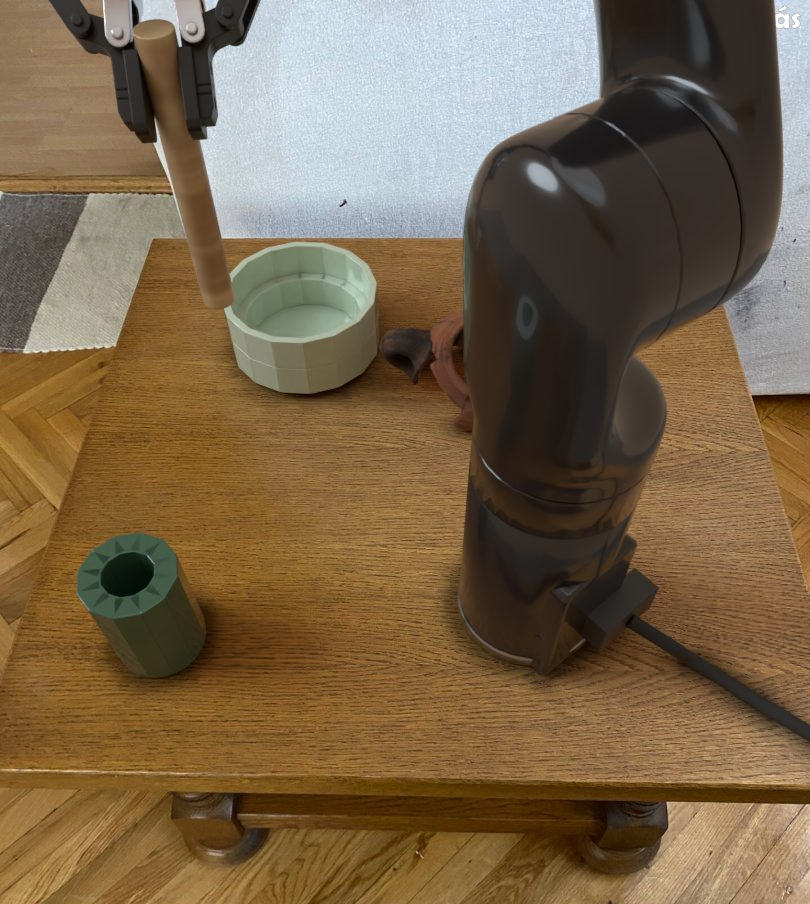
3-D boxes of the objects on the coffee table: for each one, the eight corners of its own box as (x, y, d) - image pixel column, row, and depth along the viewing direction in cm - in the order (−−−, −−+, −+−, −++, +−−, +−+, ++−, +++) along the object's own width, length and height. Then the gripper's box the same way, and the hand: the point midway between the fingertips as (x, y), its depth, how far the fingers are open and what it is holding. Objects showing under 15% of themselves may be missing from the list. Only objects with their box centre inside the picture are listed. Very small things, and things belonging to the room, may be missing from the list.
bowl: (408, 351, 70) (407, 293, 65) (292, 421, 65) (281, 365, 60) (320, 281, 75) (314, 223, 70) (207, 342, 70) (192, 285, 65)
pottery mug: (510, 343, 71) (548, 305, 63) (502, 450, 69) (541, 425, 61) (373, 319, 68) (395, 277, 60) (363, 430, 67) (384, 401, 59)
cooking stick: (241, 300, 52) (182, 29, 39) (214, 314, 51) (145, 43, 38) (223, 285, 53) (160, 14, 40) (197, 298, 52) (124, 27, 39)
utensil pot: (223, 641, 54) (196, 577, 48) (146, 695, 52) (107, 636, 45) (176, 585, 57) (145, 516, 50) (101, 634, 55) (58, 569, 48)
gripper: (-73, -331, 34) (0, 123, 37) (264, -343, 34) (306, 103, 38) (2, -203, 41) (58, 166, 44) (278, -215, 42) (313, 149, 45)
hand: (172, 135), depth 41 cm, fingers closed on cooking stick, 2 cm apart
